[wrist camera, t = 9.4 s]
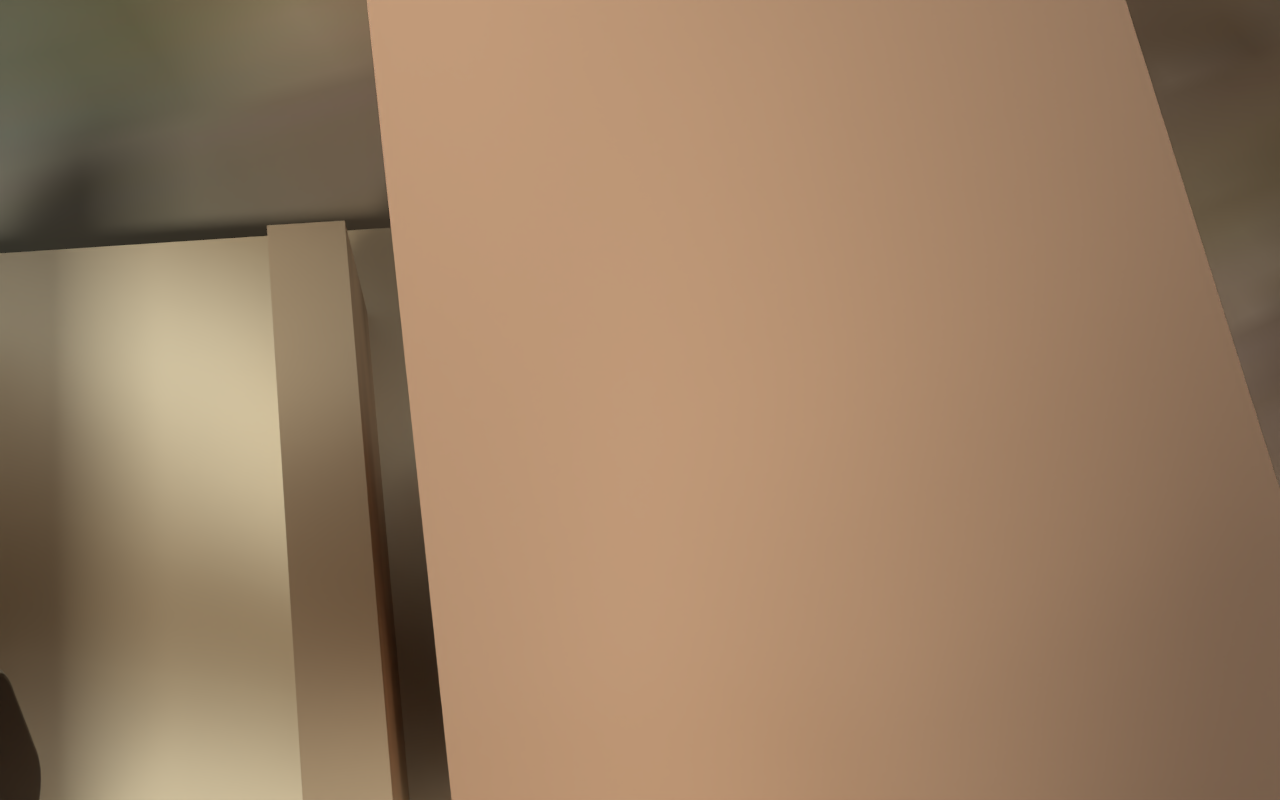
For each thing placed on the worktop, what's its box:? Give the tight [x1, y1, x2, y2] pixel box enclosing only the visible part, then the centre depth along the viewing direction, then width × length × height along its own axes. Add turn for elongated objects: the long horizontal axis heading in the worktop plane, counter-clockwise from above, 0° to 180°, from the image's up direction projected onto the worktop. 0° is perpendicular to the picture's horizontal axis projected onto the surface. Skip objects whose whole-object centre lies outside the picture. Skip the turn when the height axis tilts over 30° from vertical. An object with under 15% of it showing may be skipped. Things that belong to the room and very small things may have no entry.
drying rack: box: [0, 221, 452, 800], centre depth 14 cm, size 13×21×4 cm, turn 99°
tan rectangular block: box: [367, 0, 1280, 800], centre depth 10 cm, size 4×5×13 cm
